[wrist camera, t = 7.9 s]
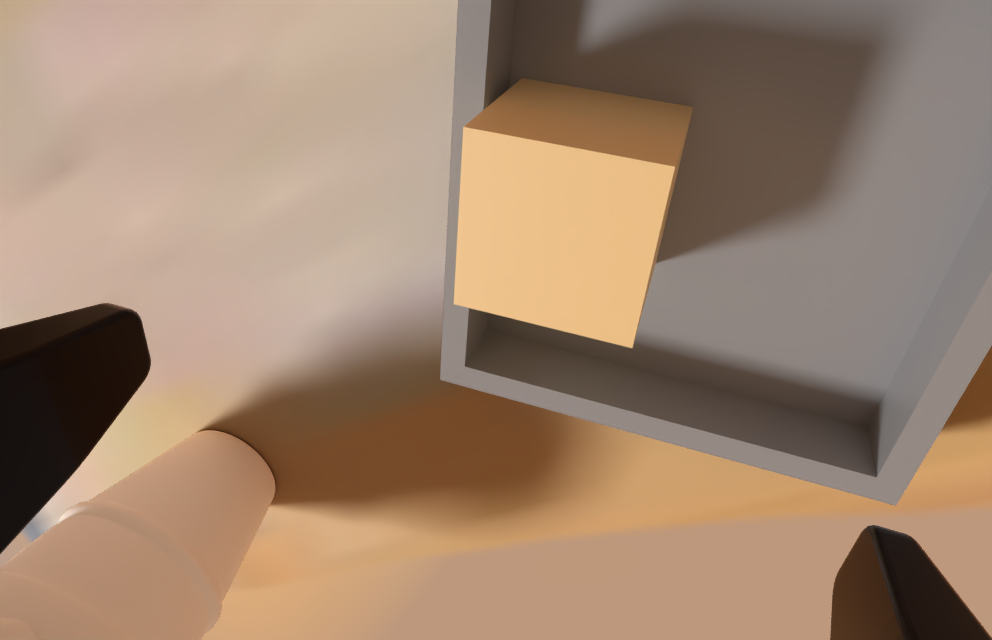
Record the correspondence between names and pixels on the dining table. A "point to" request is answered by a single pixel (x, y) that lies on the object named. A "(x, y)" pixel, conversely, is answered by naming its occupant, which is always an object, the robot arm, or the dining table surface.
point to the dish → (767, 227)
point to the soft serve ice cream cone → (143, 550)
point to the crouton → (566, 206)
